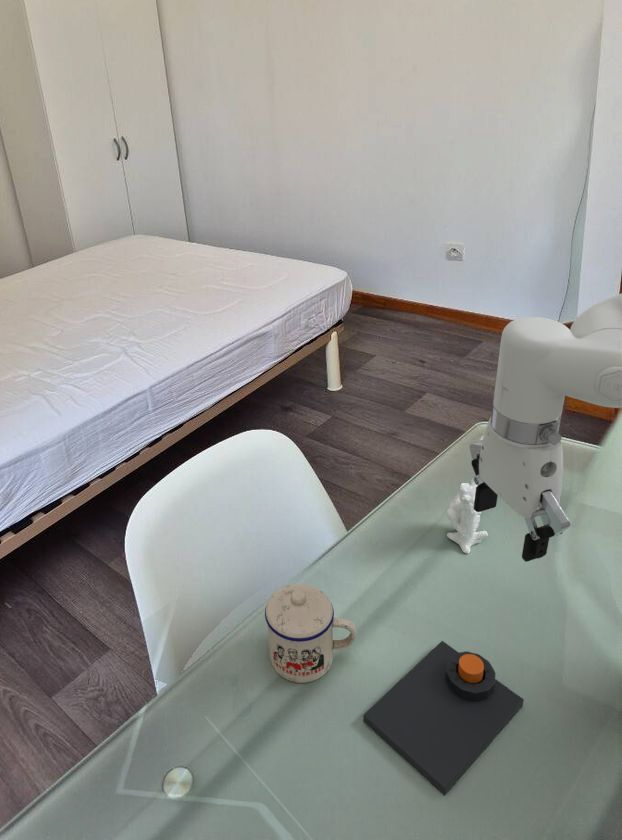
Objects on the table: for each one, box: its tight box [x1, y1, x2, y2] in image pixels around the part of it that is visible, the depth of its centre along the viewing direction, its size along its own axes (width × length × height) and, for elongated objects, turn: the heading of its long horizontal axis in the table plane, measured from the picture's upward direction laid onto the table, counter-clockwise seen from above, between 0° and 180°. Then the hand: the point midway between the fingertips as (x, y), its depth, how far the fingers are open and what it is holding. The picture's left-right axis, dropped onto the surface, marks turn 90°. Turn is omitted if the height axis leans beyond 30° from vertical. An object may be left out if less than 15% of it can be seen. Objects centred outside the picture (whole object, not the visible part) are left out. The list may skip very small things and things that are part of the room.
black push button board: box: [362, 640, 524, 796], centre depth 85 cm, size 16×12×3 cm
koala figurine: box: [446, 477, 489, 555], centre depth 109 cm, size 8×7×12 cm
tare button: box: [458, 654, 484, 684], centre depth 87 cm, size 3×3×2 cm
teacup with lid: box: [264, 583, 357, 684], centre depth 92 cm, size 12×9×12 cm
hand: (508, 531), depth 89 cm, fingers open, 9 cm apart
